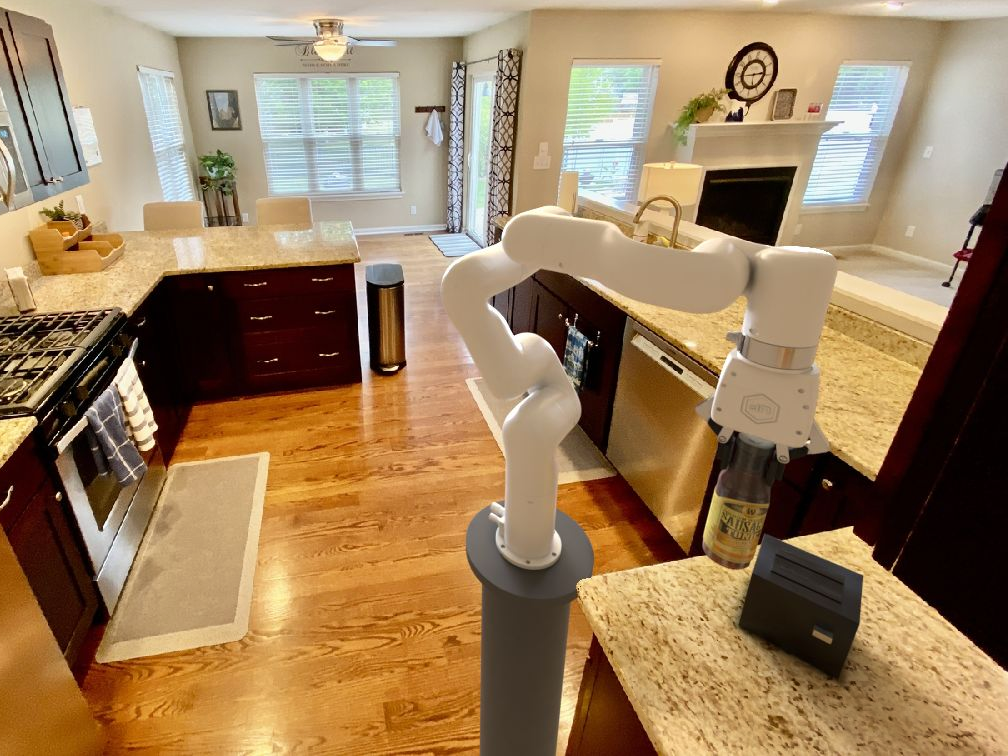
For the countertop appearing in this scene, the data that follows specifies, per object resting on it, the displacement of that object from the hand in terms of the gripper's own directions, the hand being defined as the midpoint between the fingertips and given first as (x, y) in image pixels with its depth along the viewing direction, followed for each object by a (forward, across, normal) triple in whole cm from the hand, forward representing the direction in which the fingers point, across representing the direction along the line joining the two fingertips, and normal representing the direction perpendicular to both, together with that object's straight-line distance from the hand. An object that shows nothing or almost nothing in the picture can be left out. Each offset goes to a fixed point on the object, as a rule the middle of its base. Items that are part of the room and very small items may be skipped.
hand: (747, 471), depth 65 cm
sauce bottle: (+15, 0, 0) cm, 15 cm away
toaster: (+30, +9, +9) cm, 33 cm away
